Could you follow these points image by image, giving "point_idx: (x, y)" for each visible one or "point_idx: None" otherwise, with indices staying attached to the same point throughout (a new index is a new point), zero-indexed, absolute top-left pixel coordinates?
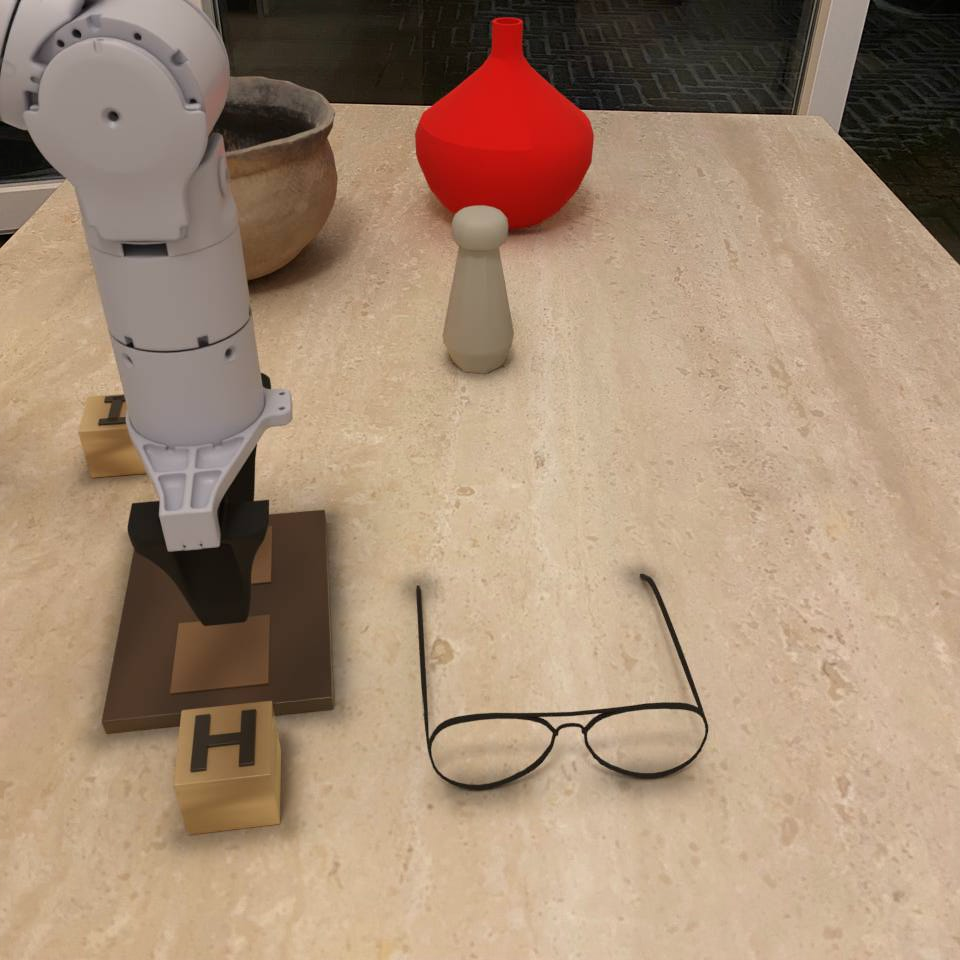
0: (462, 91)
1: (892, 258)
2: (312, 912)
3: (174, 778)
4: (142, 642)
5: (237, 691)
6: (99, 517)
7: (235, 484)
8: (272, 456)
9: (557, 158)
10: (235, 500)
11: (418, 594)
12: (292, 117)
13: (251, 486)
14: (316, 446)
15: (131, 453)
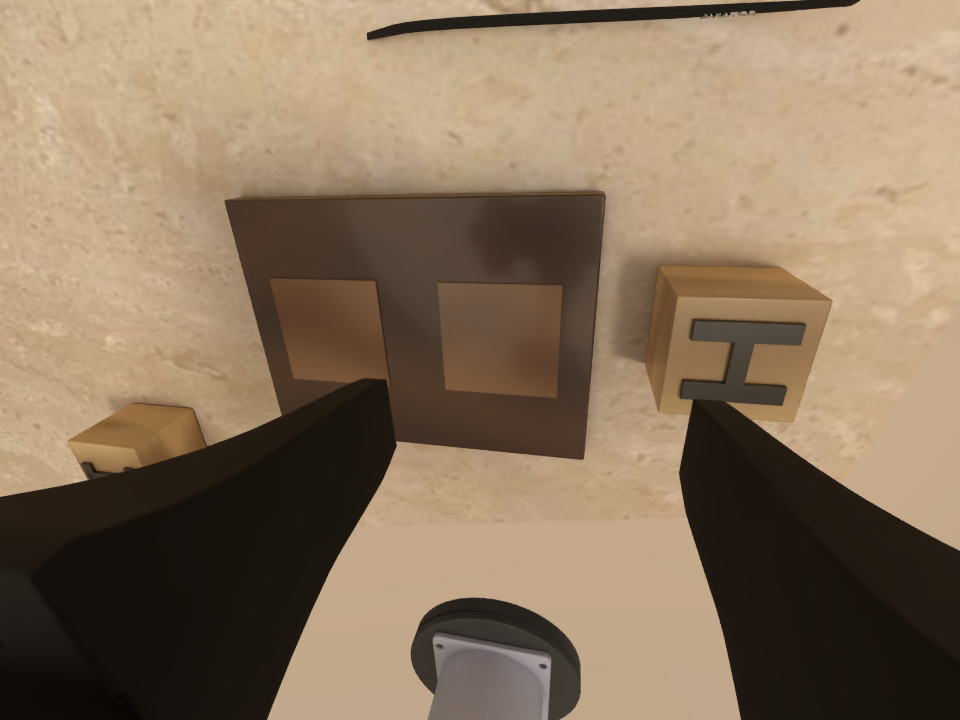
0: None
1: None
2: (945, 226)
3: (782, 421)
4: (471, 424)
5: (567, 323)
6: None
7: (347, 445)
8: (128, 273)
9: None
10: (371, 425)
11: (414, 26)
12: None
13: (346, 409)
14: (90, 210)
15: (174, 444)
